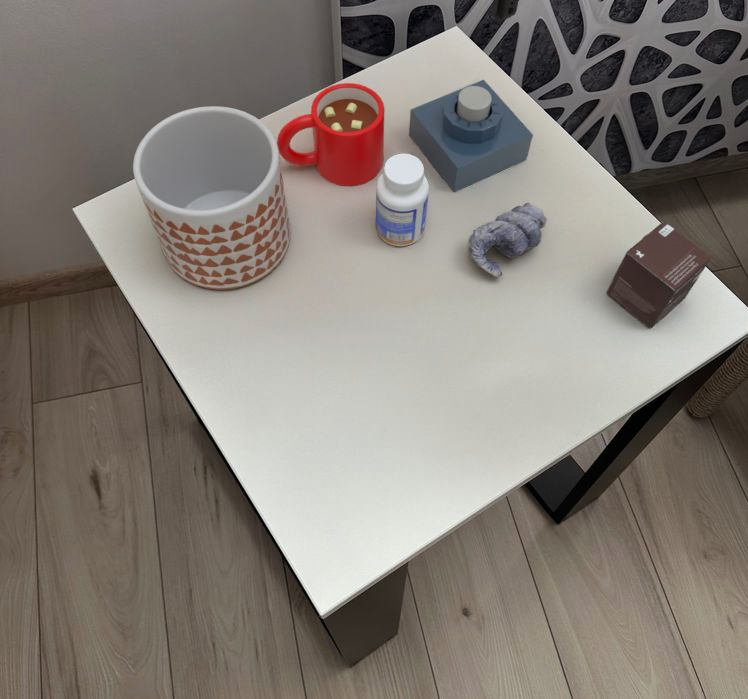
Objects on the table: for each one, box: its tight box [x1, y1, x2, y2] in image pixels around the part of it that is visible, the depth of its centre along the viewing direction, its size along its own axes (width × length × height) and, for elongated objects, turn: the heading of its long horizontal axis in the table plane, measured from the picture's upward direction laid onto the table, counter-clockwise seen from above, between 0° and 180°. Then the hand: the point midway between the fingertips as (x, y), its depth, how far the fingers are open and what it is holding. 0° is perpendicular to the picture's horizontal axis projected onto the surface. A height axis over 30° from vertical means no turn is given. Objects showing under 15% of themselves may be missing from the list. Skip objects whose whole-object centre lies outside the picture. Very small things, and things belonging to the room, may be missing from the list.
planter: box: [132, 105, 291, 291], centre depth 78 cm, size 14×14×13 cm
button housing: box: [408, 79, 534, 193], centre depth 87 cm, size 10×10×6 cm
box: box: [606, 221, 712, 329], centre depth 77 cm, size 6×6×7 cm
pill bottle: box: [375, 153, 430, 247], centre depth 80 cm, size 5×5×10 cm
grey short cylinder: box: [457, 85, 492, 123], centre depth 84 cm, size 4×4×2 cm
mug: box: [276, 82, 385, 187], centre depth 85 cm, size 8×12×8 cm, turn 106°
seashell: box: [468, 202, 548, 279], centre depth 81 cm, size 5×5×10 cm
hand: (490, 4), depth 73 cm, fingers open, 3 cm apart
